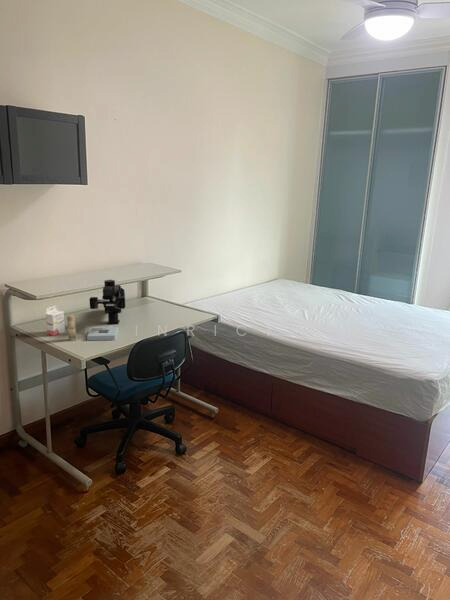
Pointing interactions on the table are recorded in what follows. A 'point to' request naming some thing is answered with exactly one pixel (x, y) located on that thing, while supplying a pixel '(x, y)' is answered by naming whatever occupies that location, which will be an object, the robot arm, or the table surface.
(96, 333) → the socket board
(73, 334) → the dowel
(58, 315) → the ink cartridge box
